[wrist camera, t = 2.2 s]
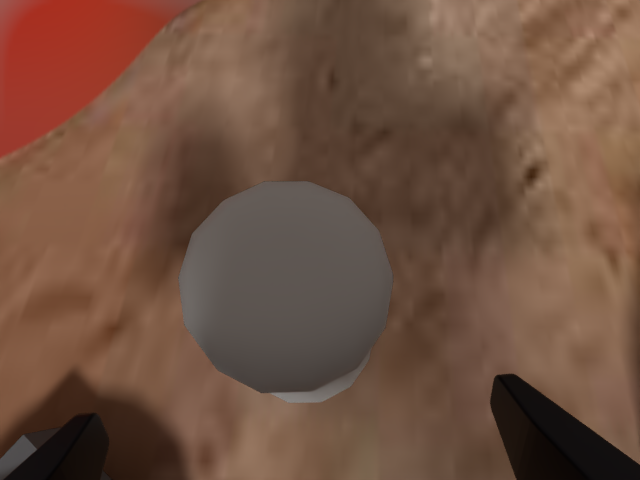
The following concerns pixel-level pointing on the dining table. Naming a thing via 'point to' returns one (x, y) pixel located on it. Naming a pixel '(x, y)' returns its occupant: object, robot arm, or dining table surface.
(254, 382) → the salt shaker
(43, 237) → the dining table surface
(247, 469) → the dining table surface
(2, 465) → the ringed square socket
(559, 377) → the dining table surface
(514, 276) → the dining table surface
